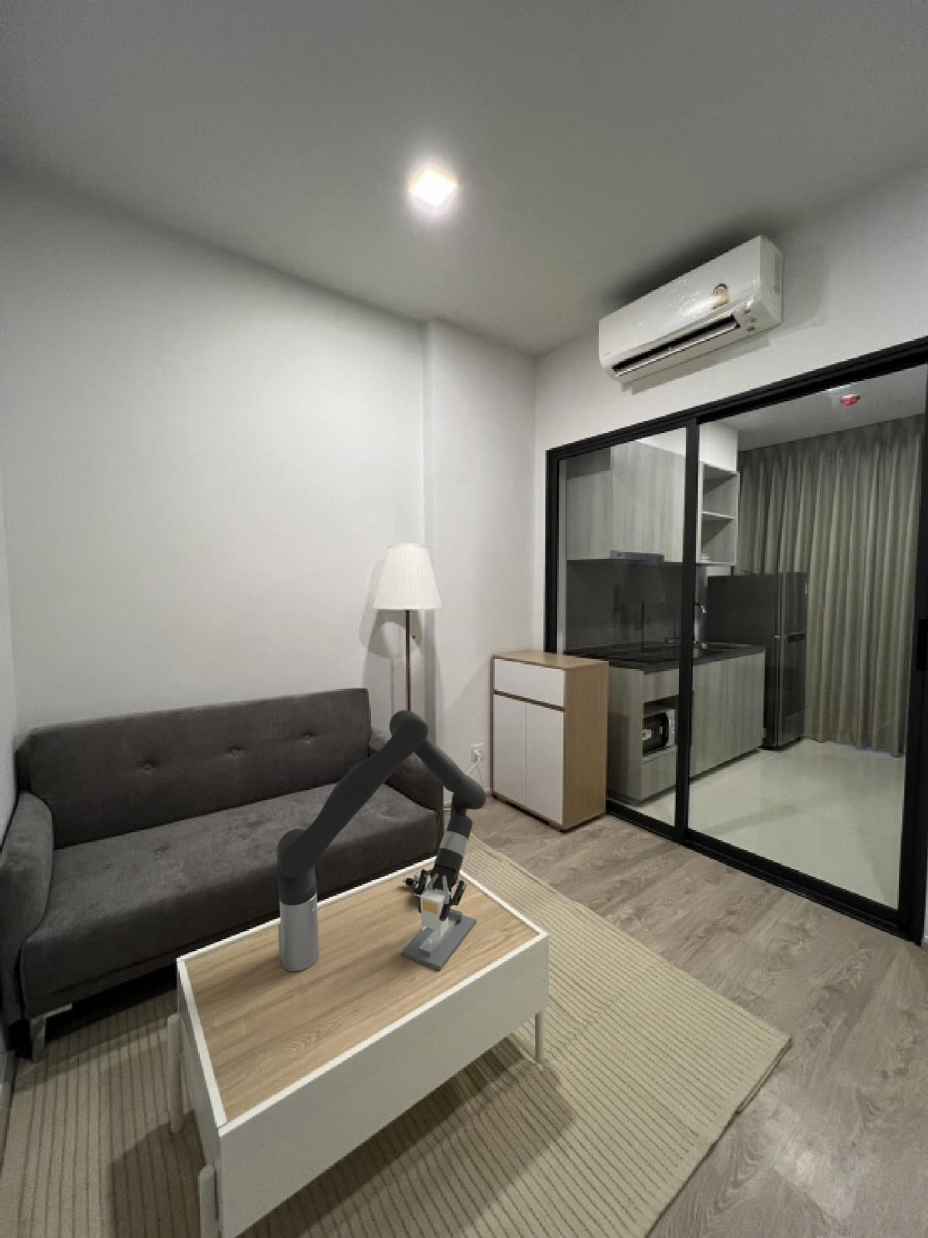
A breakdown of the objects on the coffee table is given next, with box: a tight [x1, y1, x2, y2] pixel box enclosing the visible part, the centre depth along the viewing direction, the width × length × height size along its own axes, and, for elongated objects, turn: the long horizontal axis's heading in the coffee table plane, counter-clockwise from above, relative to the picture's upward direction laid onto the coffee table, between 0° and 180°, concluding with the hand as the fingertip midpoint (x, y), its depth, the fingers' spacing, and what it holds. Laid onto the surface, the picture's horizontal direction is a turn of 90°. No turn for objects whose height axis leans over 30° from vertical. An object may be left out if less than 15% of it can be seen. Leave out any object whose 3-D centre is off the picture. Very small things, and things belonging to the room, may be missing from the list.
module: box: [419, 889, 448, 937], centre depth 130 cm, size 6×4×9 cm
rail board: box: [401, 914, 477, 971], centre depth 133 cm, size 12×20×1 cm, turn 152°
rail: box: [419, 908, 463, 956], centre depth 133 cm, size 5×16×2 cm, turn 152°
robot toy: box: [402, 868, 444, 900], centre depth 155 cm, size 12×4×15 cm
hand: (431, 916), depth 129 cm, fingers closed on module, 6 cm apart
